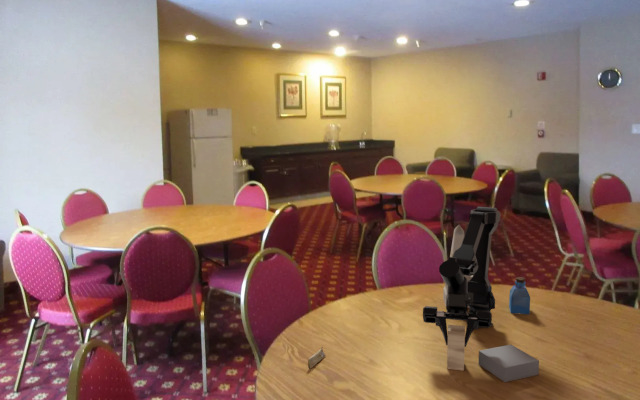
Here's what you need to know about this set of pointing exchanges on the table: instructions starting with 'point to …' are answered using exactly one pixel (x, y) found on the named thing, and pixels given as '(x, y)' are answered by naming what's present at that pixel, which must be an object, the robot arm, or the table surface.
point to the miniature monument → (456, 244)
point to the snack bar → (315, 358)
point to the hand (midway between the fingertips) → (456, 345)
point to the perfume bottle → (519, 297)
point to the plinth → (508, 363)
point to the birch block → (456, 347)
